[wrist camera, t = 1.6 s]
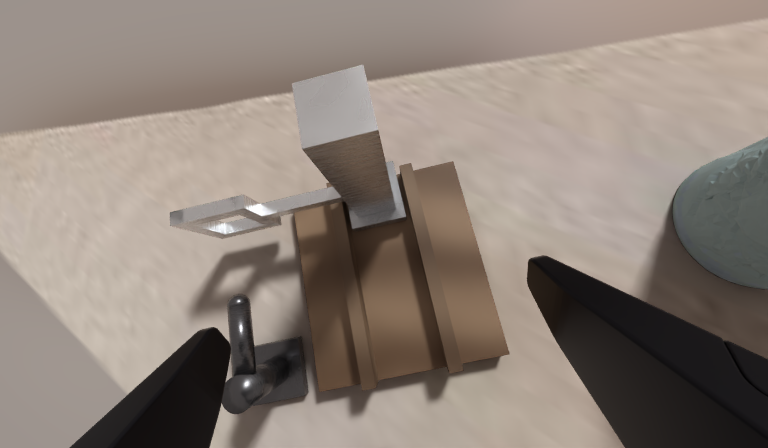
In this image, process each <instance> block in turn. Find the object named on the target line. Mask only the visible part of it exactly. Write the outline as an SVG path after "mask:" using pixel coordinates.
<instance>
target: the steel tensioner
mask: <svg viewBox="0 0 768 448" xmlns="http://www.w3.org/2000/svg"><path fill="white" fill-rule="evenodd" d="M292 88H293V94H294V100H295V107H296V113H297V120H298V126H299V133H300V139H301V145H302V149H303V151H304V152H305V153H306V154H307V156H308V157H309V158H310V159H311V160H312V162H313V163H314V164H315V165H316V167H317V168H318V169H319V170H320V171H321V173H322V174H323V175H324V176H325V178H326V179H327V180H328V181H329V182H330V184H331V185H332V186H333V187H329V188H324V189H320V190H316V191H312V192H308V193H304V194H299V195H295V196H291V197H287V198H283V199H279V200H274V201H270V202H266V203H262V204H260V203H258V202H256V201H254V200H253V199H251V198H249V197H247V196H245V195H240V196H236V197H232V198H228V199H223V200H219V201H215V202H211V203H207V204H203V205H199V206H195V207H190V208H186V209H182V210H178V211H174V212H170V226H172V227H176V228H180V229H184V230H189V231H193V232H197V233H201V234H205V235H209V236H213V237H217V238H221V239H224V238H228V237H232V236H237V235H241V234H245V233H249V232H254V231H258V230H262V229H266V228H271V227H275V226H279V225H281V218H280V216H284V215H288V214H292V213H296V212H300V211H305V210H309V209H313V208H317V207H322V206H326V205H330V204H334V203H339V202H343V201H345V202H346V203H347V205H348V209H349V214H350V219H351V225H352V229H353V230H354V231H355V232H357V231H361V230H365V229H370V228H374V227H378V226H383V225H387V224H391V223H396V222H400V221H404V220H406V214H405V210H404V206H403V202H402V197H401V193H400V189H399V185H398V180H397V176H396V172H395V168H394V164H393V161H391V162H387V163H386V162H385V157H384V153H383V149H382V144H381V140H380V136H379V131H378V127H377V123H376V118H375V114H374V109H373V105H372V101H371V96H370V92H369V88H368V83H367V79H366V75H365V70H364V67H363V65H360V66H356V67H352V68H349V69H345V70H341V71H337V72H333V73H330V74H326V75H322V76H318V77H315V78H311V79H307V80H303V81H299V82H295V83H292ZM238 215H241V216H244V217H246V218H244V219H240V220H236V221H232V222H228V223H223V222H220V221H217V220H221V219H225V218H229V217H233V216H238Z"/></svg>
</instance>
